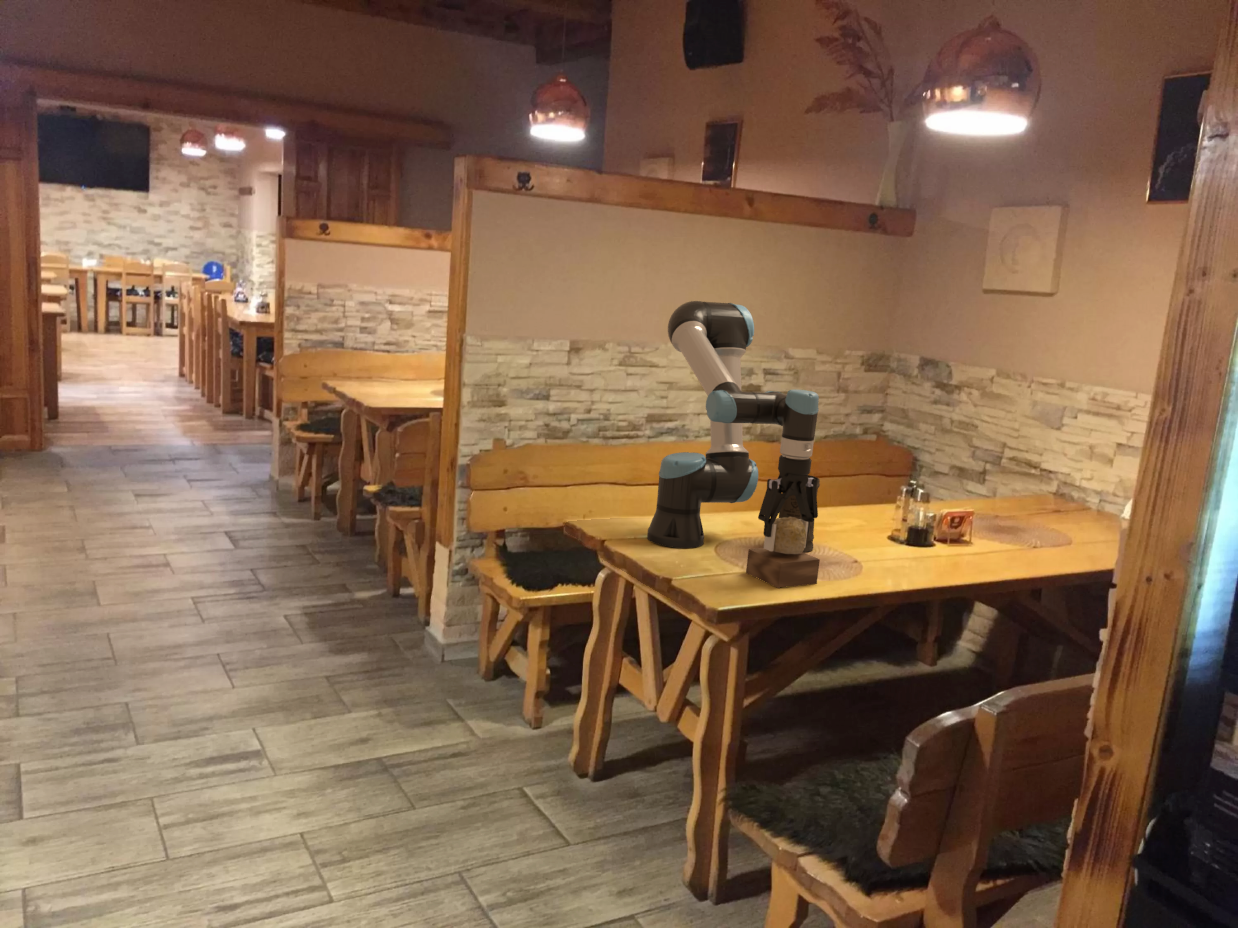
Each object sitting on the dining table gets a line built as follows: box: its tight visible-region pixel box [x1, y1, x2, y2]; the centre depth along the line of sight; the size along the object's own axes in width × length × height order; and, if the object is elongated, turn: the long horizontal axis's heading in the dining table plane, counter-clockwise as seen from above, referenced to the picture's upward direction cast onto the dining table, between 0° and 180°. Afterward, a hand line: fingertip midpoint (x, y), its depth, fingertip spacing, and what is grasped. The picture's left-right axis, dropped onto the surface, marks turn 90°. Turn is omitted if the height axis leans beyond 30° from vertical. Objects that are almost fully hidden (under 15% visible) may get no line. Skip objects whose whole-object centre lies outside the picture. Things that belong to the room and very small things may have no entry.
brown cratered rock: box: [773, 517, 806, 554], centre depth 232 cm, size 9×9×8 cm
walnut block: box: [745, 547, 821, 589], centre depth 234 cm, size 12×12×6 cm
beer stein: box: [778, 474, 821, 553], centre depth 264 cm, size 15×11×20 cm
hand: (784, 548), depth 233 cm, fingers closed on brown cratered rock, 9 cm apart
